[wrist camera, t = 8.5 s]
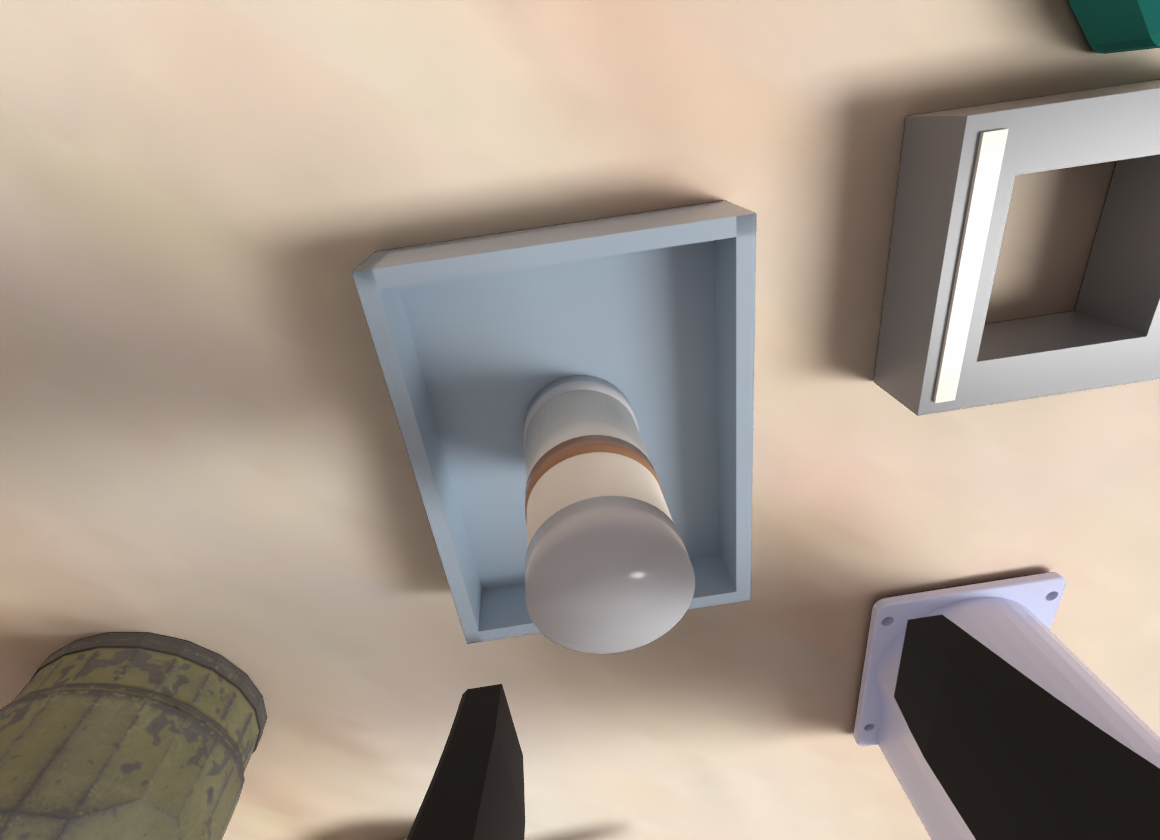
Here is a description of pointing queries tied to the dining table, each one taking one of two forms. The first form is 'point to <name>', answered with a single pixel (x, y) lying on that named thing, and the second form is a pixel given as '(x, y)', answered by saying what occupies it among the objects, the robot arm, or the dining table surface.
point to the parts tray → (567, 348)
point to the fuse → (597, 524)
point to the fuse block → (973, 240)
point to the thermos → (127, 742)
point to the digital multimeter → (1119, 24)
